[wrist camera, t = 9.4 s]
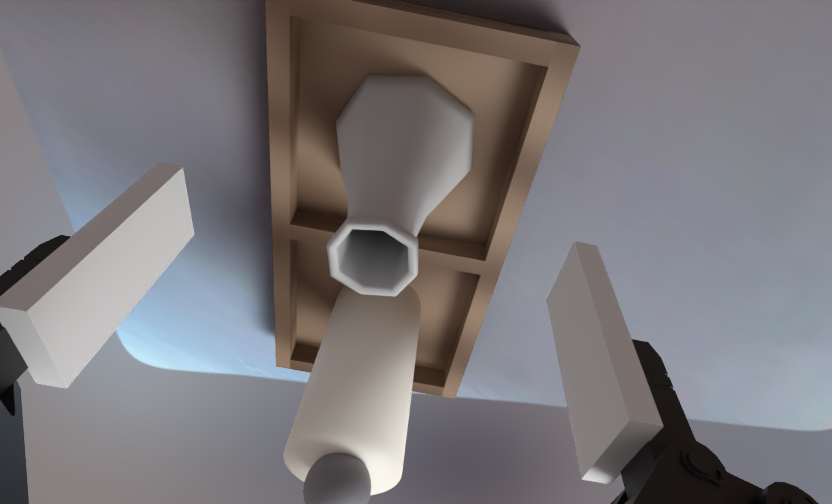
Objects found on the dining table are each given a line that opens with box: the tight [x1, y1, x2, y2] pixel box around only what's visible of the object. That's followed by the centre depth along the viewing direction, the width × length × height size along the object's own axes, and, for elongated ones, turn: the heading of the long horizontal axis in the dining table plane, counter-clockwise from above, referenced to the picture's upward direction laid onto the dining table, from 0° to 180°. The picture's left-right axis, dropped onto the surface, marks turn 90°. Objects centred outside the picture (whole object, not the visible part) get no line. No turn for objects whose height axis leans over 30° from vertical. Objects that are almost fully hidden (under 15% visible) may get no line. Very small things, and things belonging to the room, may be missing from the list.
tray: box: [265, 0, 581, 399], centre depth 26 cm, size 24×13×2 cm, turn 171°
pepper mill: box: [283, 284, 421, 504], centre depth 25 cm, size 6×6×14 cm
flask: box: [326, 75, 475, 297], centre depth 19 cm, size 7×7×10 cm
